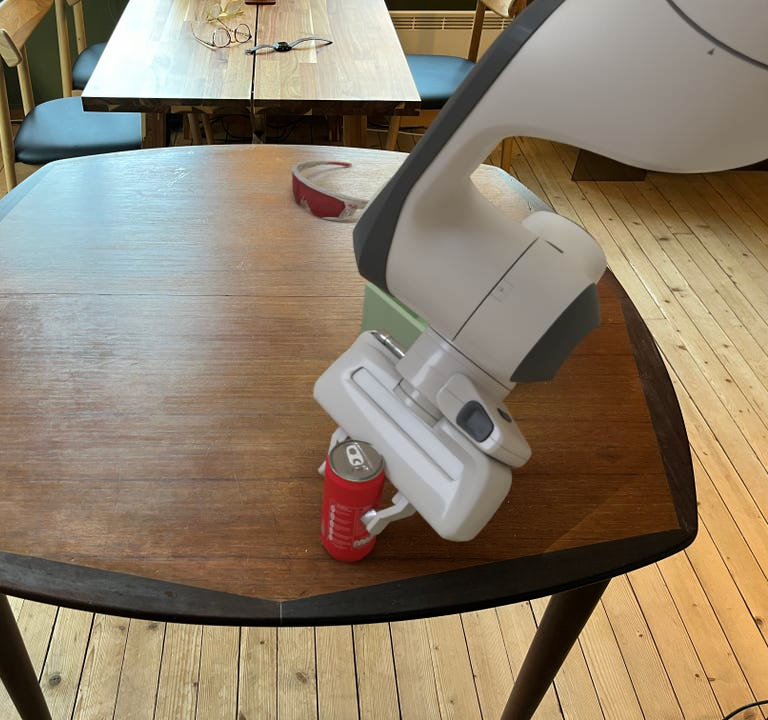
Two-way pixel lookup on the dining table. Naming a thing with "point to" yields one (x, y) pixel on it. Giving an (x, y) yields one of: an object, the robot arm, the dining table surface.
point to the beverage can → (350, 498)
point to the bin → (390, 316)
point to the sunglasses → (323, 194)
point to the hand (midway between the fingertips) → (346, 503)
